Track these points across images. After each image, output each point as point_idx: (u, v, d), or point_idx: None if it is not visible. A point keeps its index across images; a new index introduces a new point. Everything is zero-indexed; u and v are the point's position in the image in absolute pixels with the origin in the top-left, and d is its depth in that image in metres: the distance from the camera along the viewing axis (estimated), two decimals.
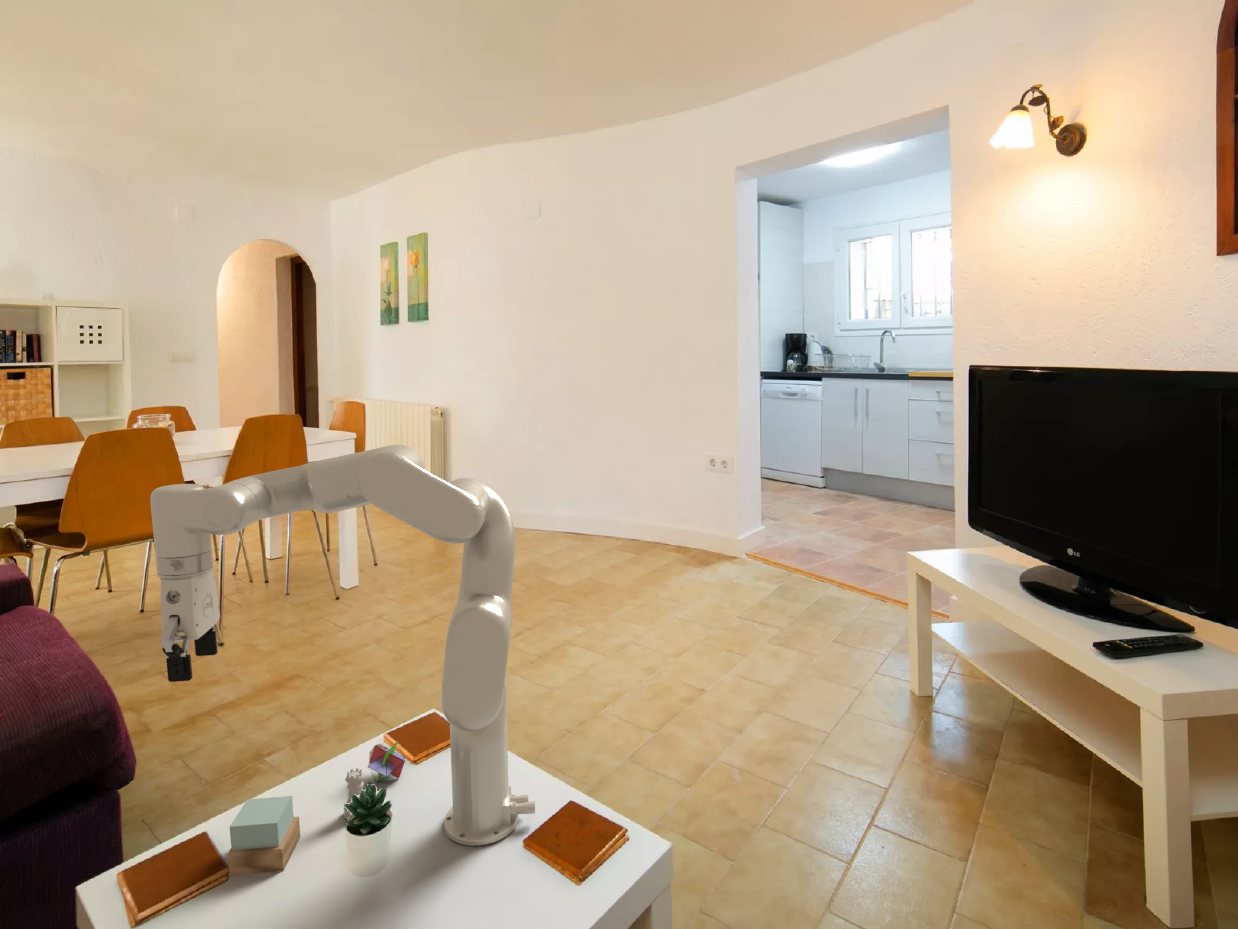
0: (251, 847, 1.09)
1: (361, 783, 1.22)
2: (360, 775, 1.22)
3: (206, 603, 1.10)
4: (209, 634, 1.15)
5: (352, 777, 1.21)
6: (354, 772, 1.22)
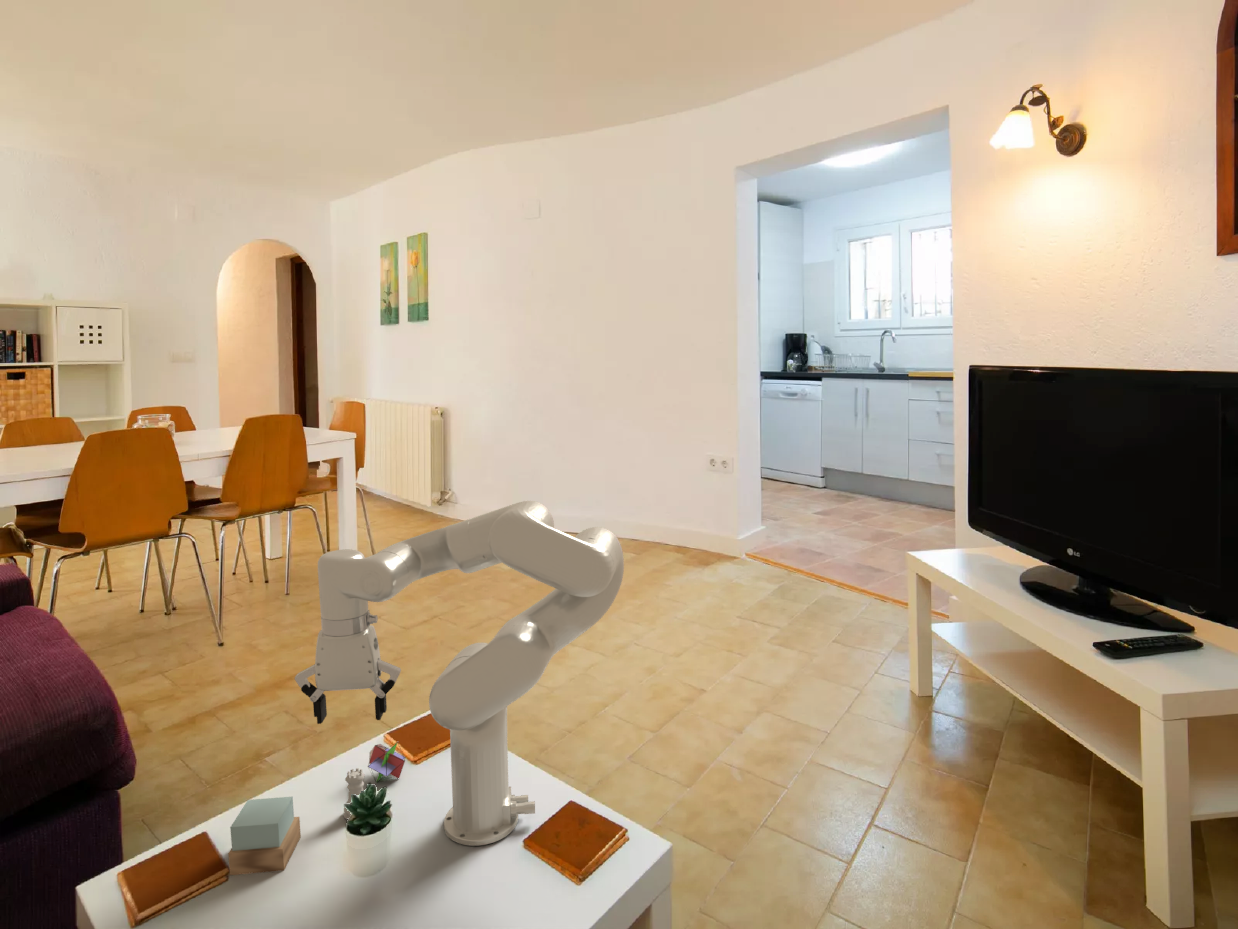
0: (252, 848, 1.09)
1: (361, 783, 1.22)
2: (360, 775, 1.22)
3: None
4: (324, 697, 1.20)
5: (352, 777, 1.21)
6: (354, 772, 1.22)
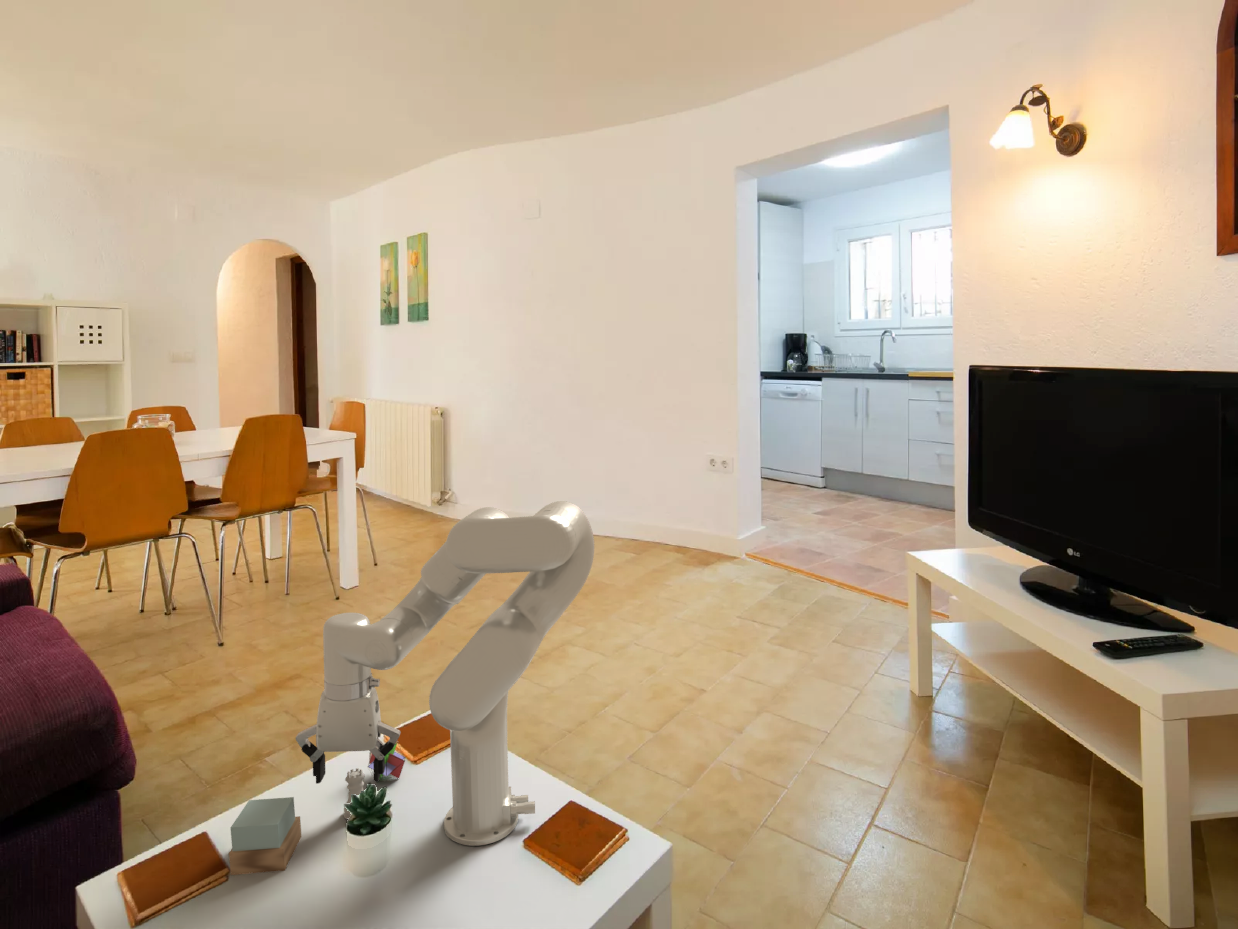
0: (252, 848, 1.08)
1: (361, 783, 1.22)
2: (360, 775, 1.22)
3: None
4: (323, 756, 1.22)
5: (352, 777, 1.21)
6: (354, 772, 1.22)
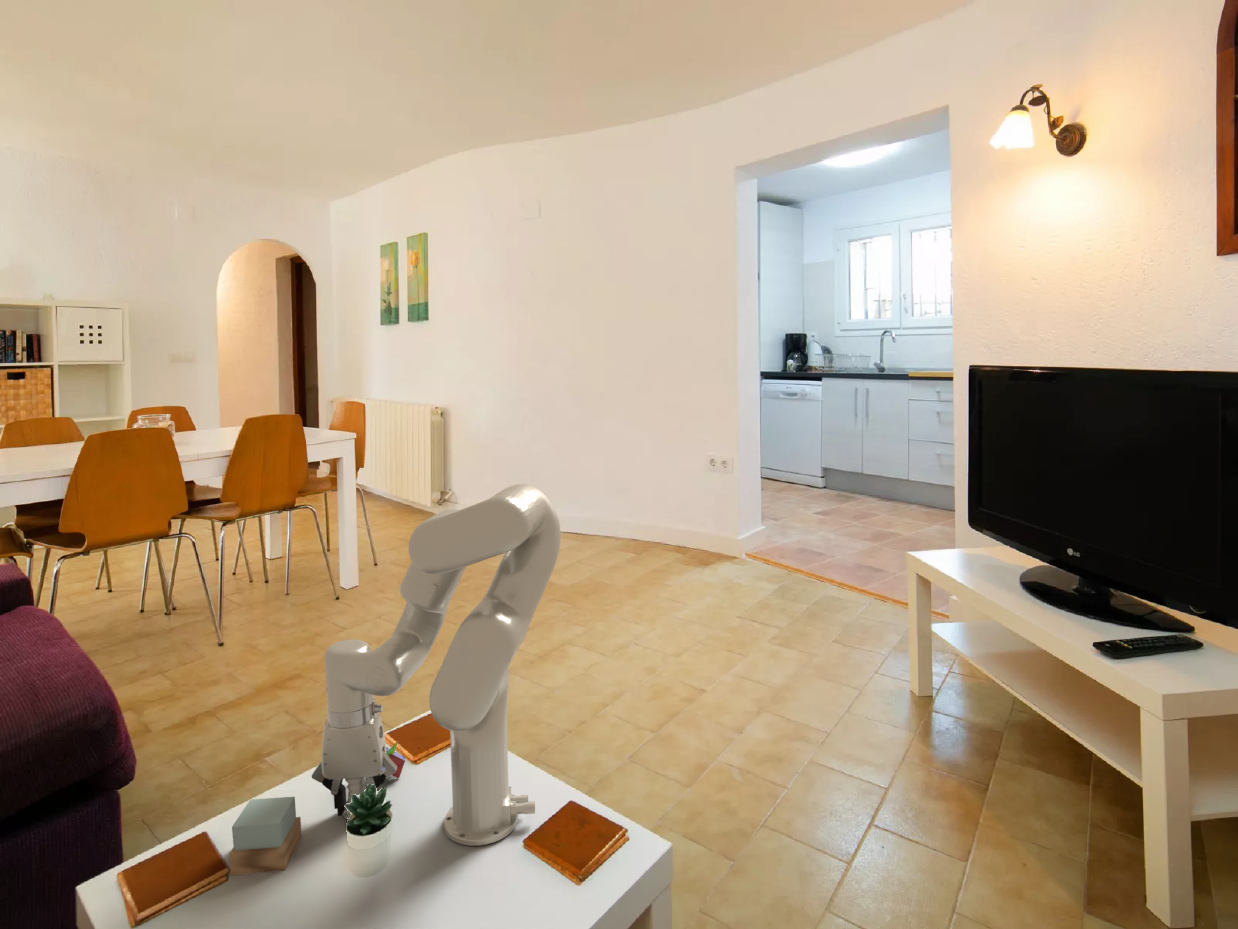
0: (253, 847, 1.09)
1: (361, 783, 1.22)
2: None
3: None
4: (344, 789, 1.23)
5: None
6: None
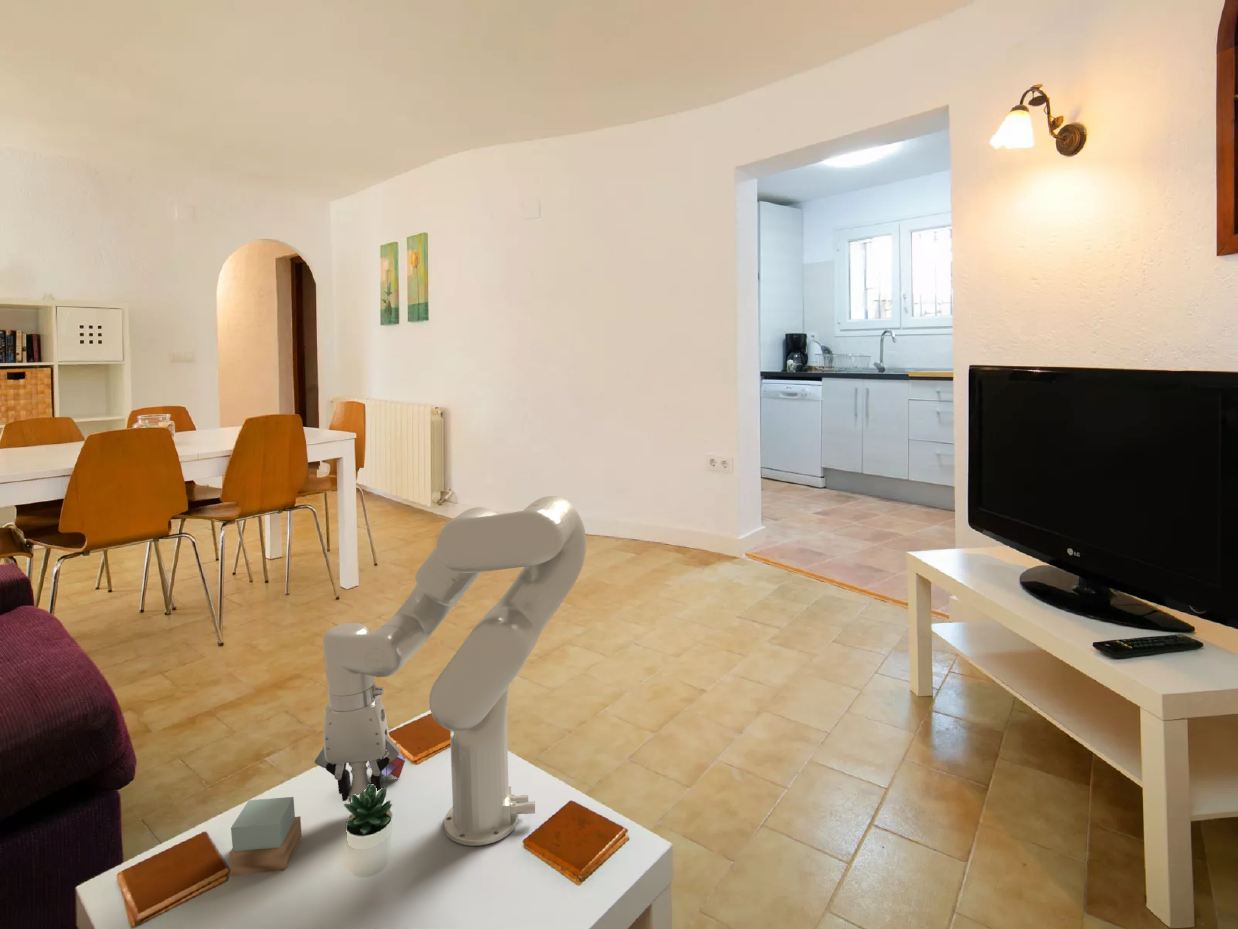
0: (252, 848, 1.09)
1: (365, 767, 1.21)
2: None
3: None
4: (348, 773, 1.22)
5: None
6: None
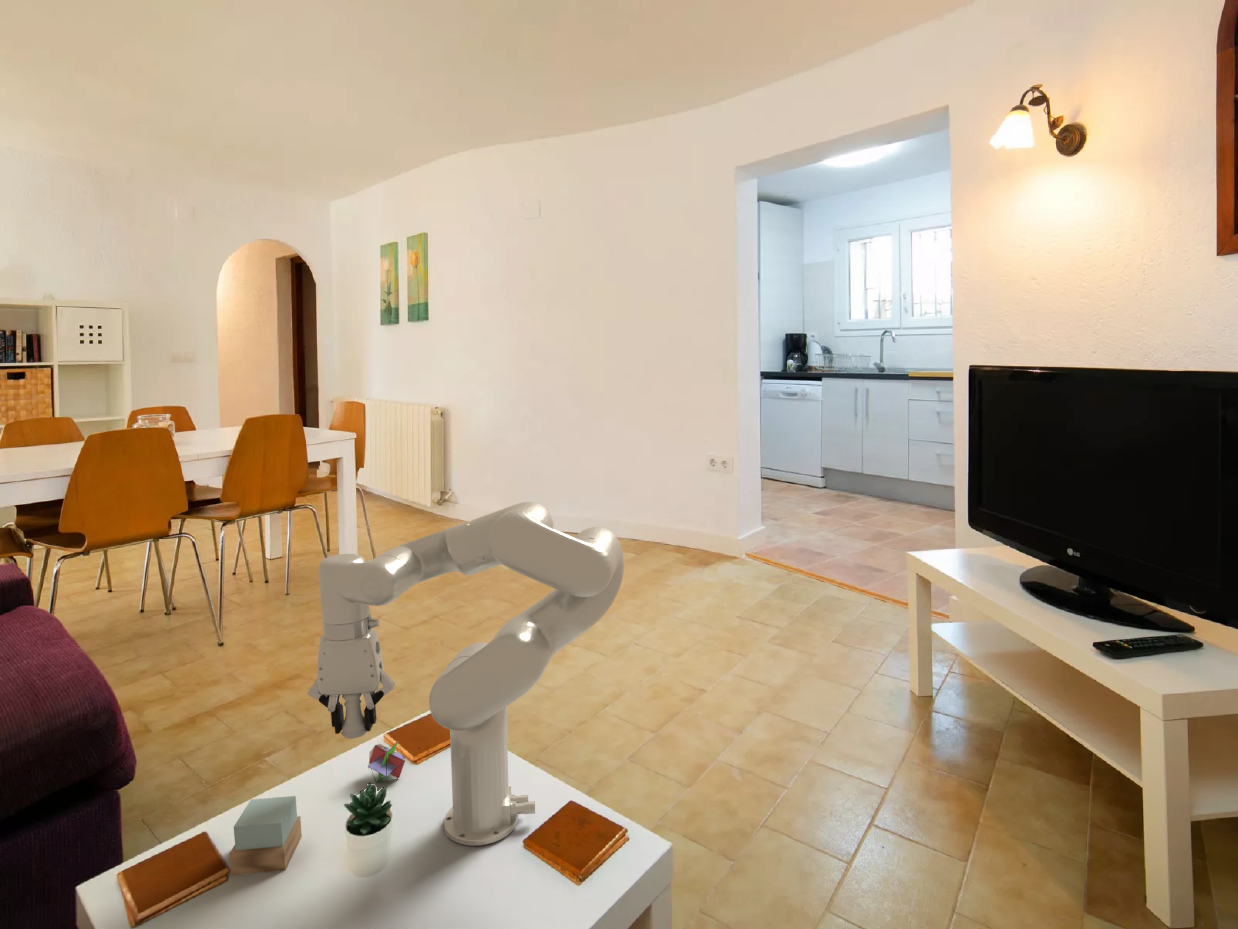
0: (255, 847, 1.09)
1: (358, 700, 1.20)
2: None
3: None
4: (341, 707, 1.21)
5: None
6: None
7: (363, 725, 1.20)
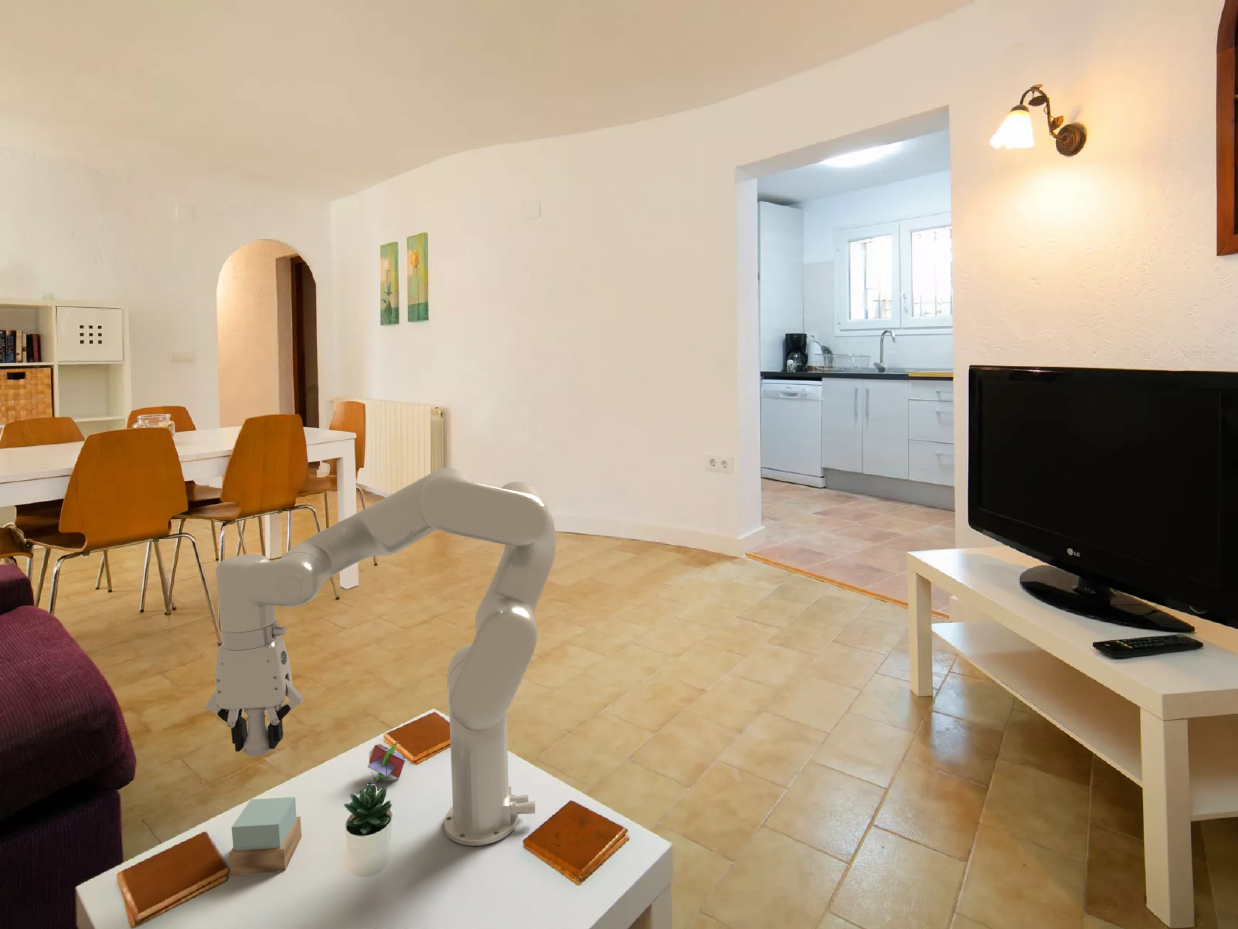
0: (253, 848, 1.09)
1: (262, 715, 1.09)
2: None
3: None
4: (244, 722, 1.10)
5: None
6: None
7: (267, 742, 1.09)
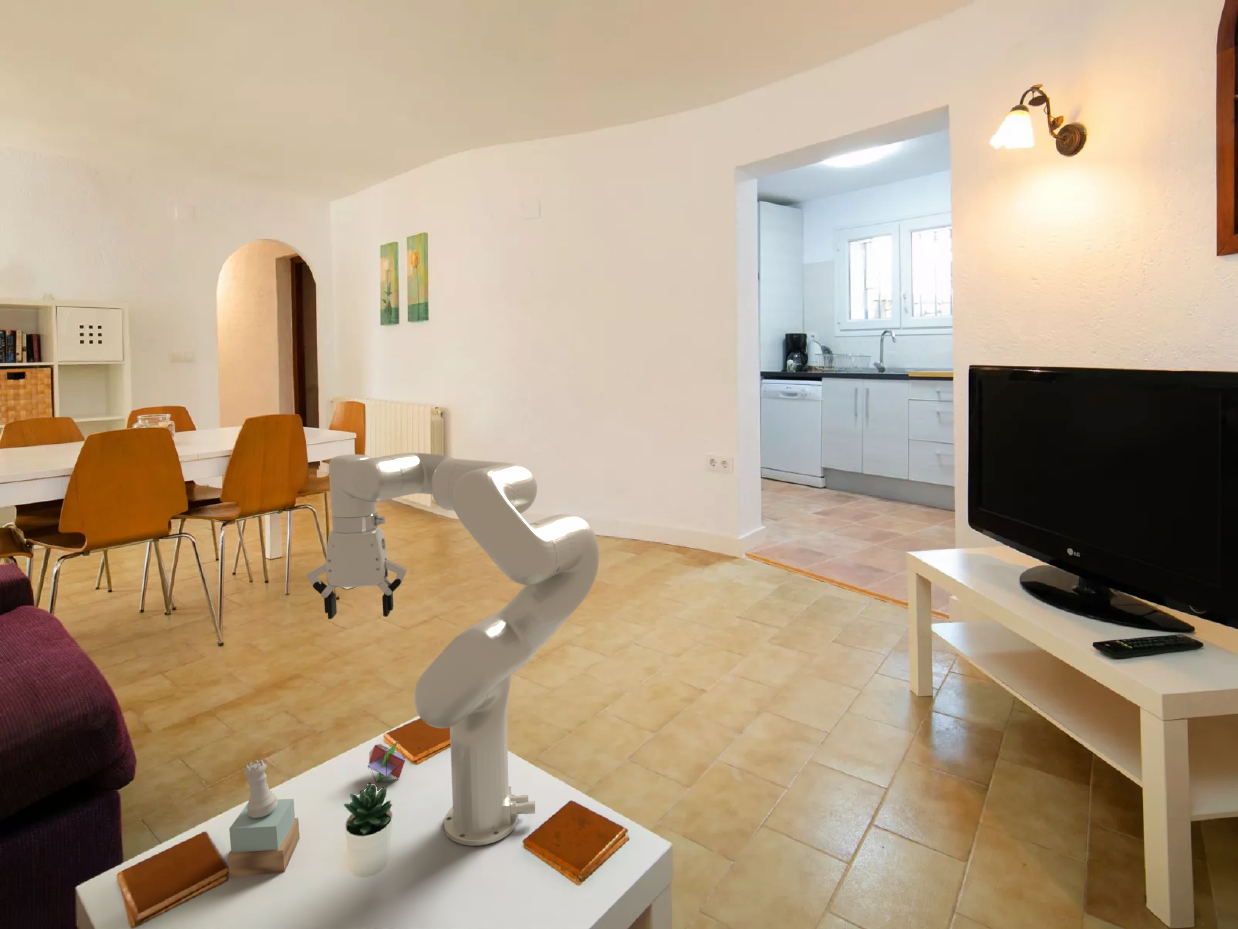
0: (250, 850, 1.08)
1: (259, 777, 1.10)
2: (257, 768, 1.10)
3: None
4: (334, 595, 1.27)
5: (247, 769, 1.09)
6: (256, 764, 1.11)
7: (264, 805, 1.10)
